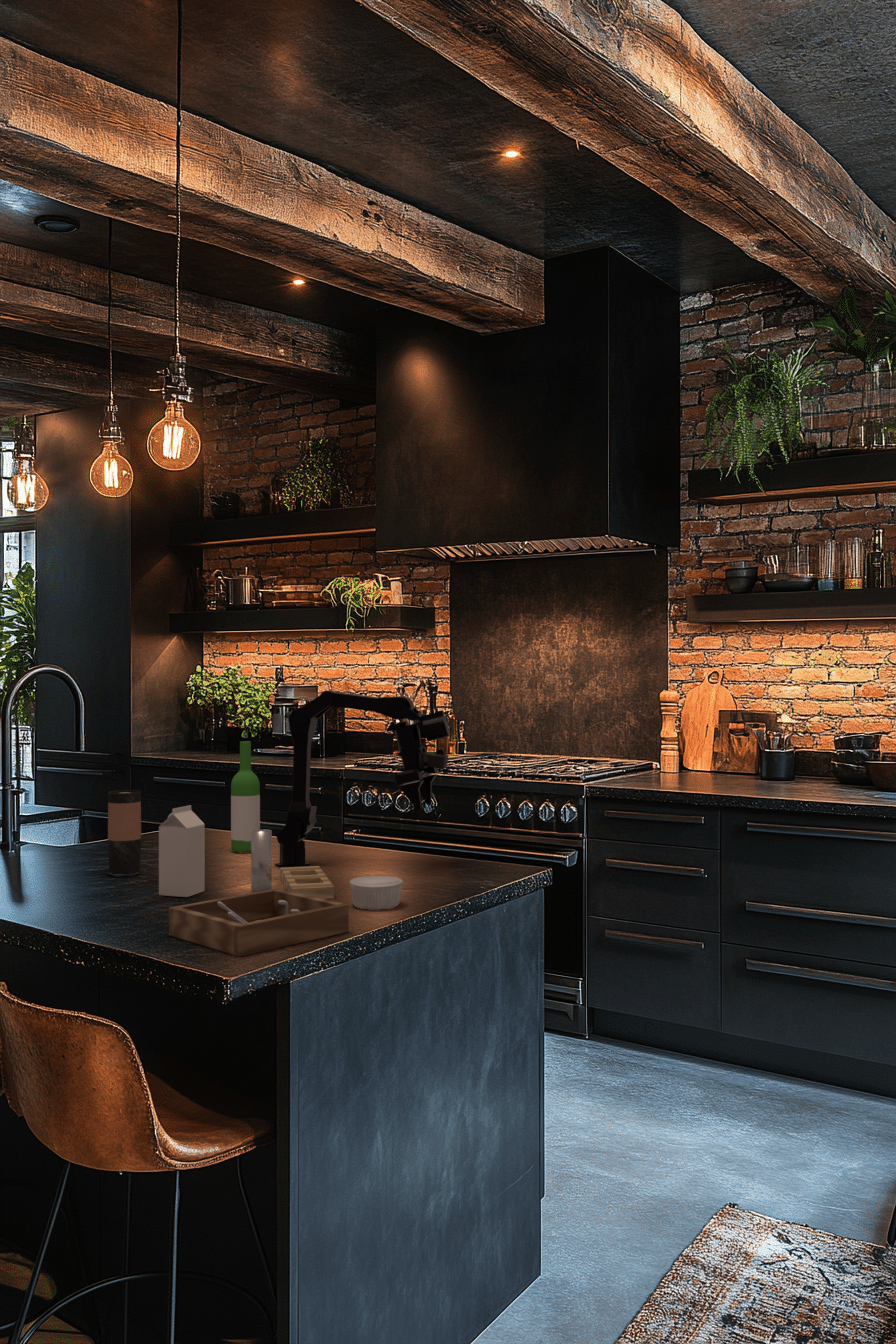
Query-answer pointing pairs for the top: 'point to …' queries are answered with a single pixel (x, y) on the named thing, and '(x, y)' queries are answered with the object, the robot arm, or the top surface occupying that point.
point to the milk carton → (181, 854)
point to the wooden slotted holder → (307, 881)
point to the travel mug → (124, 831)
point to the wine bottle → (244, 802)
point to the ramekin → (376, 892)
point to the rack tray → (229, 936)
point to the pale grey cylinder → (261, 860)
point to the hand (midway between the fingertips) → (424, 807)
